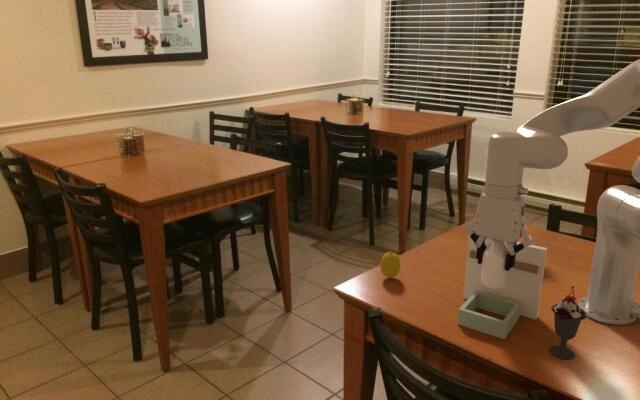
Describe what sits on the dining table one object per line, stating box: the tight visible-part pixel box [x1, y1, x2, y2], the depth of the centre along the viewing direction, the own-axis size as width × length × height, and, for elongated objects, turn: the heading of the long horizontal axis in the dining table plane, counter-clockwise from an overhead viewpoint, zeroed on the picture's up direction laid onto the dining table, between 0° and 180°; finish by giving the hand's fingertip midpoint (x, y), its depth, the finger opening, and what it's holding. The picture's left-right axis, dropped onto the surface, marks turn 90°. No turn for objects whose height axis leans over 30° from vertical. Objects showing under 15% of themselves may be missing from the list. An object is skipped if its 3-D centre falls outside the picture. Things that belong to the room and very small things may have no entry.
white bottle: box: [481, 239, 509, 288], centre depth 119 cm, size 6×12×6 cm
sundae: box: [549, 285, 587, 361], centre depth 109 cm, size 7×7×15 cm
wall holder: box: [457, 235, 548, 340], centre depth 122 cm, size 18×14×18 cm
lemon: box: [379, 250, 401, 279], centre depth 144 cm, size 6×6×8 cm
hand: (494, 264), depth 119 cm, fingers closed on white bottle, 5 cm apart
